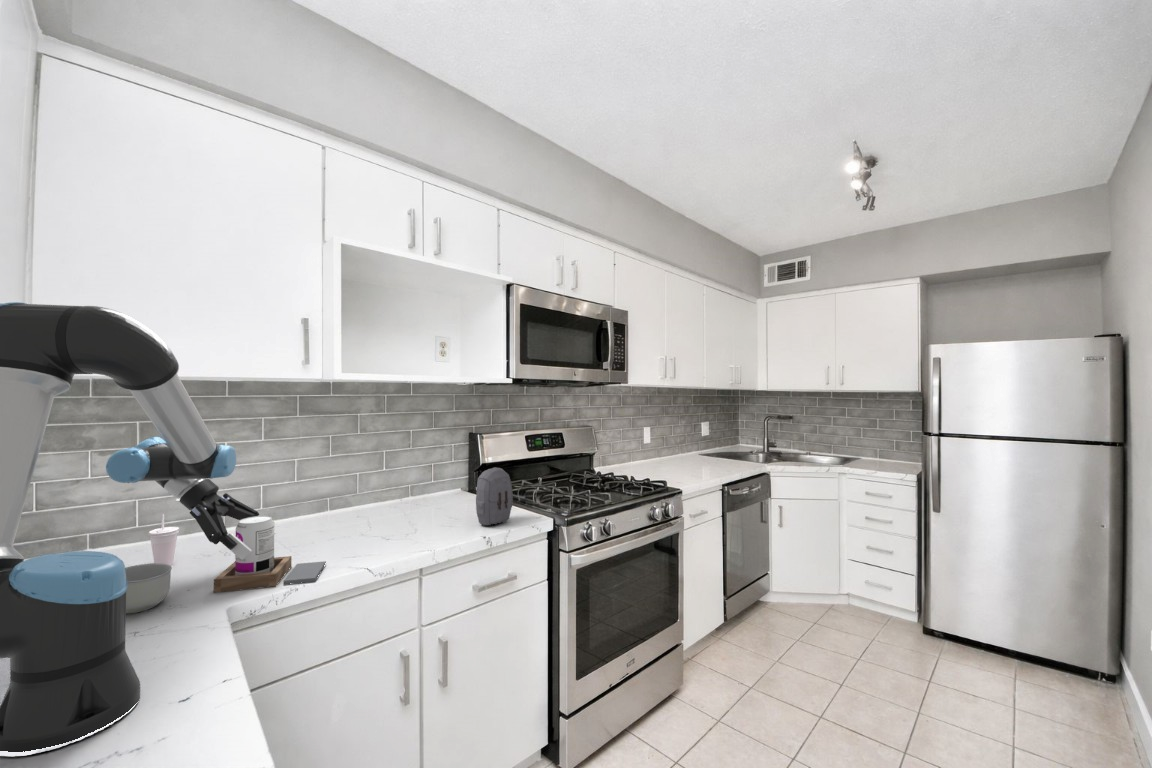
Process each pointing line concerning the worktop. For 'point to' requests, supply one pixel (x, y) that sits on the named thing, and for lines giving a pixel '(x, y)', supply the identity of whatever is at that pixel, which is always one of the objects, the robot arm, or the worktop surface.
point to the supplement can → (256, 545)
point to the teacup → (146, 585)
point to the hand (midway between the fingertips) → (259, 546)
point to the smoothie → (164, 543)
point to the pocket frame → (251, 577)
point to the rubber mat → (304, 572)
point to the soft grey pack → (493, 496)
